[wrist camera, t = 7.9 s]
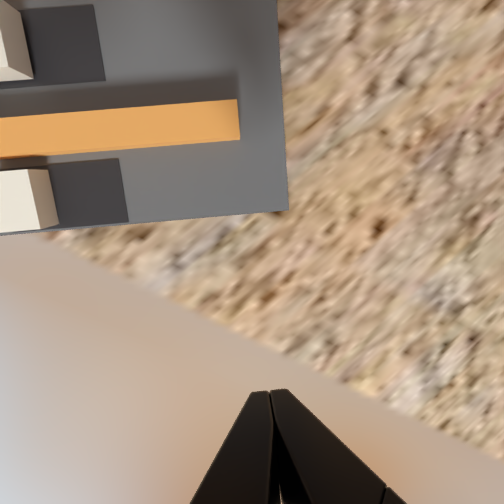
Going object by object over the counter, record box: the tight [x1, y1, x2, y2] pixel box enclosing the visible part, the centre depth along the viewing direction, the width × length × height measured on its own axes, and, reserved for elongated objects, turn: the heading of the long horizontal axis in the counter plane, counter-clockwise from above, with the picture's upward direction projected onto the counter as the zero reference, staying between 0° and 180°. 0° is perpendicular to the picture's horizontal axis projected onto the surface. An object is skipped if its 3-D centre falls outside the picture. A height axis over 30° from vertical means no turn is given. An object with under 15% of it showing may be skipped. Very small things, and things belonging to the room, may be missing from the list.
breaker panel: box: [0, 0, 289, 236], centre depth 15 cm, size 20×15×5 cm
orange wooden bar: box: [0, 99, 240, 160], centre depth 14 cm, size 16×1×1 cm, turn 95°
